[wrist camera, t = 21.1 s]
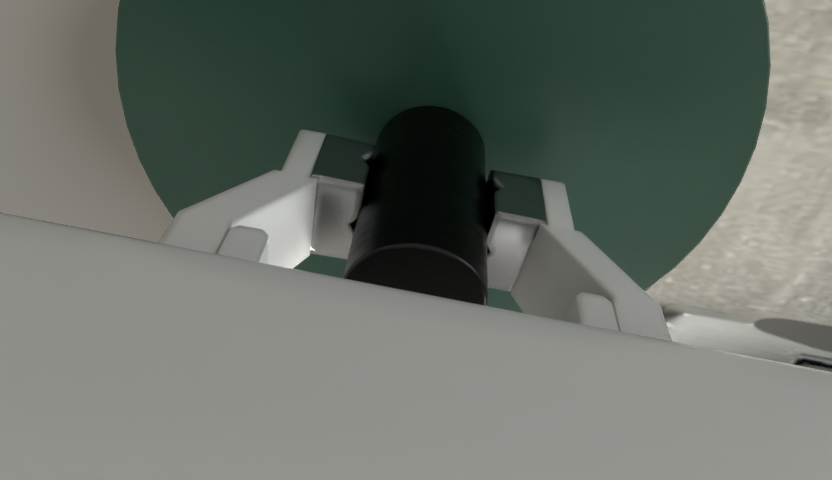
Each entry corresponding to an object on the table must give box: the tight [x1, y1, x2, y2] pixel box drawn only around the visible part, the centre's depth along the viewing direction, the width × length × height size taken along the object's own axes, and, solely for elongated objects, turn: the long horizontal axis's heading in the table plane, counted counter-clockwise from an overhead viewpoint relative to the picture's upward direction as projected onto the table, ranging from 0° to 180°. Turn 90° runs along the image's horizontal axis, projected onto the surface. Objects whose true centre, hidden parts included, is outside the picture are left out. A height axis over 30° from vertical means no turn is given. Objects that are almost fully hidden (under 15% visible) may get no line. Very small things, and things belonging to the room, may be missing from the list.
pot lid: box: [116, 0, 771, 313], centre depth 12 cm, size 14×14×6 cm
